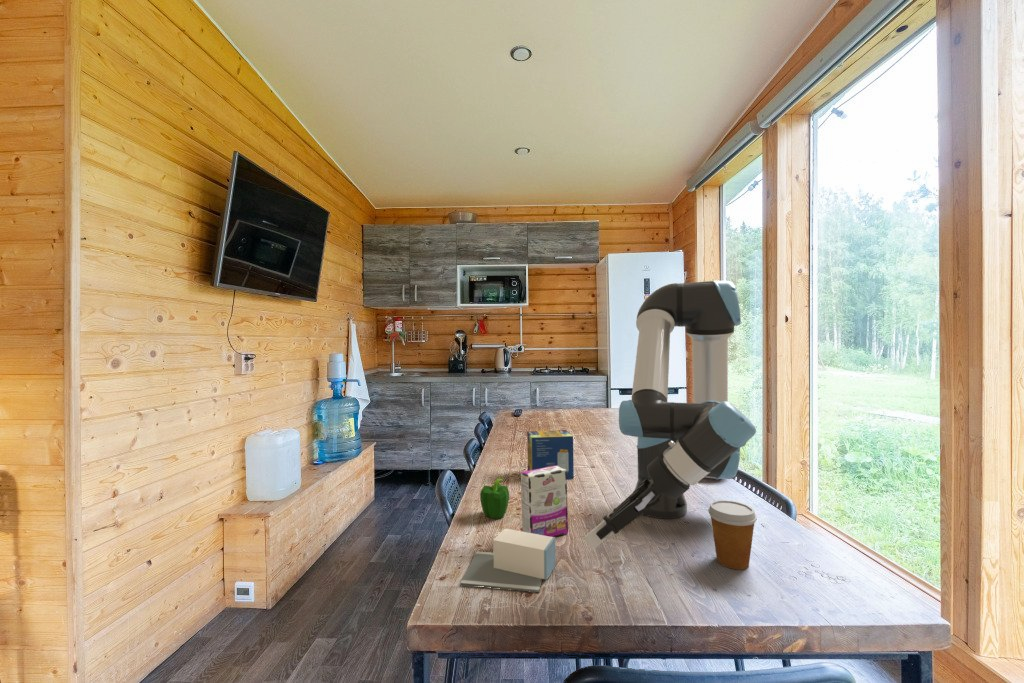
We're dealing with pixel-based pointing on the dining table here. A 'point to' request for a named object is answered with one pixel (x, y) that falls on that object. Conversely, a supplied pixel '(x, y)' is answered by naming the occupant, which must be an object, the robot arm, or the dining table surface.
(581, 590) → the dining table surface
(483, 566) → the gray plastic tray
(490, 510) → the bell pepper
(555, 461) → the protein box
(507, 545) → the cream block
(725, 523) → the disposable coffee cup
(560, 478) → the candy bar box
